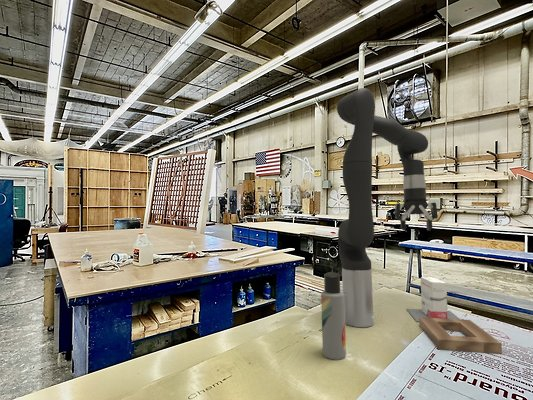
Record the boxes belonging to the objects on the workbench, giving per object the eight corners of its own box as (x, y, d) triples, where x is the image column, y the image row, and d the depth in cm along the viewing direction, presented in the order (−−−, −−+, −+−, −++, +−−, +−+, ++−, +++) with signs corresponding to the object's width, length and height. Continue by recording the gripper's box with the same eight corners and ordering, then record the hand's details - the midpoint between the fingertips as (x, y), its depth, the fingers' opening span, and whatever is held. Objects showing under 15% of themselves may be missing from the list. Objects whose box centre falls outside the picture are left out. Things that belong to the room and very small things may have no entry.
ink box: (449, 320, 92) (447, 282, 92) (432, 319, 92) (430, 282, 93) (436, 311, 100) (434, 276, 101) (420, 310, 101) (419, 276, 101)
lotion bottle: (347, 350, 73) (344, 271, 74) (345, 361, 68) (342, 276, 69) (324, 347, 75) (322, 270, 76) (321, 358, 70) (318, 274, 71)
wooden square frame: (438, 349, 73) (438, 339, 73) (419, 325, 89) (418, 317, 89) (502, 353, 70) (501, 343, 70) (470, 328, 86) (469, 319, 86)
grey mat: (416, 322, 92) (416, 320, 92) (406, 309, 103) (406, 308, 103) (465, 324, 89) (465, 323, 89) (449, 311, 100) (449, 310, 100)
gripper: (396, 187, 107) (398, 231, 106) (438, 186, 104) (441, 230, 103) (392, 189, 114) (394, 230, 114) (431, 187, 111) (433, 229, 111)
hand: (416, 230), depth 108 cm, fingers open, 8 cm apart
